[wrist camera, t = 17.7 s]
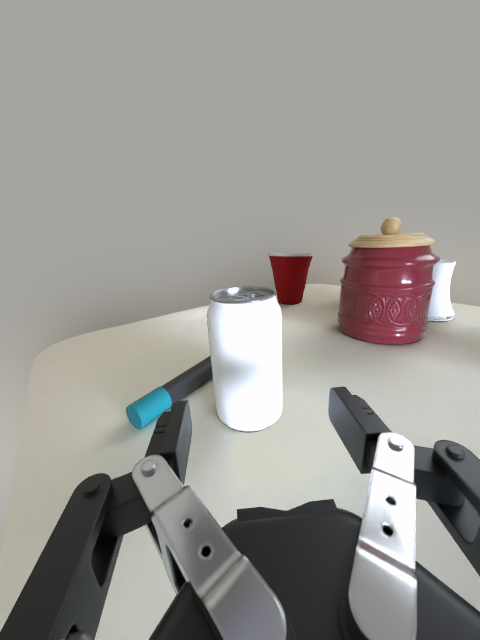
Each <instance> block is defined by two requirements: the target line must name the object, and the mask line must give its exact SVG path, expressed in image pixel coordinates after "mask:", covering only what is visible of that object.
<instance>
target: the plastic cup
mask: <svg viewBox="0 0 480 640" xmlns="http://www.w3.org/2000/svg"><path fill="white" fill-rule="evenodd" d="M268 255H269V257H270V261H271V266H272V270H273V276H274V282H275V288H276V292H277V297H278V301H279V302H280V303H283V304H297V303H300V302H301V301H302V298H303V292H304V289H305V284H306V278H307V274H308V269H309V266H310V262H311V259H312V256H314V254H308V253H270V254H268Z"/></svg>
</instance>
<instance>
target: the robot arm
mask: <svg viewBox="0 0 480 640" xmlns="http://www.w3.org/2000/svg"><path fill="white" fill-rule="evenodd" d="M329 417H330V421H331V423H332V424H333V426H334V428H335V430H336V431H337V433H338V435H339V437H340V438H341V440H342V442H343V443H344V445H345V447H346V449H347V450H348V452H349V454H350V456H351V457H352V459H353V461H354V462H355V464H356V466H357V468H358V469H359V471H360V473H361V474H365V473H370V474H371V477H370V482H369V487H368V492H367V497H366V503H365V508H364V513H363V518H361V517H359V516H357V515H355V514H353V513H351V512H349V511H346V510H343V509H339V508H337V507H336V505H335V503H334V500H333V499H330V500H321V501H312V502H308V503H305V504H303V505H301V506H298V507H296V508H293V509H291V510H288V511H283V510H277V509H271V508H264V507H256V508H247V509H237V519H235V520H233V521H231V522H229V523H228V524H226V525H225V526H224V527H222V528H221V527H220V526H219V524H218V523H217V522H216V520H215V519H214V518H213V516H212V515H211V514H210V512H209V511H208V510H207V508H206V507H205V506H204V504H203V503H202V501H201V500H200V499H199V497H198V496H197V495H196V493H195V492H194V491H193V489H192V488H191V487H190V486H188V485H187V486H186V487H184V480H185V474H186V468H187V461H188V455H189V449H190V442H191V436H192V422H191V415H190V409H189V402H188V400H185V401H174V403H173V406H172V410H171V411H168V412H164V413H163V414H162V415H161V416H160V417H159V419H158V421H157V424H156V428H155V429H154V432H153V435H152V438H151V441H150V444H149V446H148V449H147V452H146V455H145V458H143V459H142V460H140V461H139V462H138V463H137V464H136V465H135V467H134V468H133V471H132V472H130V473H128V474H126V475H123V476H121V477H118V478H115V479H112V480H111V478H110V477H109V475H107V474H103V473H100V474H95V475H92V476H90V477H88V478H87V479H85V480H84V481H82V482H81V483H80V484H79V485H78V486H77V487H76V489H75V490H74V492H73V494H72V496H71V498H70V500H69V502H68V504H67V505H66V507H65V509H64V511H63V513H62V515H61V517H60V519H59V521H58V523H57V525H56V527H55V528H54V530H53V532H52V534H51V536H50V538H49V540H48V542H47V544H46V546H45V548H44V550H43V551H42V553H41V555H40V557H39V559H38V561H37V563H36V565H35V567H34V569H33V571H32V573H31V575H30V576H29V578H28V580H27V582H26V584H25V586H24V588H23V590H22V592H21V594H20V596H19V598H18V599H17V601H16V603H15V605H14V607H13V609H12V611H11V613H10V615H9V617H8V619H7V621H6V622H5V624H4V626H3V628H2V630H1V632H0V640H94V639H95V636H96V632H97V628H98V625H99V621H100V618H101V614H102V610H103V607H104V603H105V600H106V596H107V593H108V589H109V585H110V582H111V578H112V575H113V571H114V567H115V564H116V560H117V557H118V553H119V549H120V546H121V542H122V539H123V535H124V534H126V533H128V532H131V531H133V530H135V529H137V528H139V527H142V526H144V525H146V527H147V530H148V532H149V534H150V536H151V538H152V540H153V542H154V544H155V546H156V548H157V551H158V553H159V555H160V557H161V559H162V561H163V564H164V566H165V569H166V572H167V575H168V577H169V580H170V582H171V584H172V587H173V589H174V591H175V593H176V597H175V598H174V600H173V602H172V603H171V605H170V606H169V608H168V610H167V611H166V613H165V614H164V616H163V618H162V619H161V621H160V622H159V624H158V625H157V627H156V629H155V630H154V632H153V633H152V635H151V637H150V638H149V640H480V612H479V611H478V610H477V609H475V608H474V607H473V606H472V605H470V604H469V603H468V602H467V601H465V600H464V599H463V598H462V597H460V596H459V595H458V594H457V593H455V592H454V591H453V590H452V589H450V588H449V587H448V586H447V585H445V584H444V583H443V582H442V581H440V580H439V579H438V578H437V577H435V576H434V575H433V574H432V573H430V572H429V571H428V570H427V569H425V568H424V567H423V566H422V565H420V564H419V563H418V562H417V561H415V551H416V499H421V500H426V501H427V502H428V503H429V505H430V506H431V508H432V509H433V510H434V512H435V513H436V515H437V516H438V517H439V519H440V520H441V522H442V523H443V525H444V526H445V527H446V529H447V530H448V532H449V533H450V535H451V536H452V537H453V539H454V540H455V542H456V543H457V544H458V546H459V547H460V549H461V550H462V552H463V553H464V554H465V556H466V557H467V559H468V560H469V562H470V563H471V564H472V566H473V567H474V569H475V570H476V571H477V573H478V574H479V576H480V460H479V459H478V458H477V457H476V456H475V455H474V454H473V453H472V452H471V451H470V450H468V449H467V448H465V447H464V446H462V445H460V444H458V443H455V442H452V441H448V440H440V441H437V442H436V443H435V445H434V449H432V448H426V447H419V446H414V445H413V444H412V443H411V442H410V441H409V440H408V439H407V438H405V437H403V436H402V435H399V434H397V433H392V432H391V431H390V430H389V428H388V427H387V426H386V425H385V424H384V423H383V421H382V420H381V419H380V418H379V417H378V416H377V414H375V412H374V411H373V410H372V409H371V408H370V406H369V405H368V404H367V403H366V402H365V400H363V399H361V398H360V397H358V396H357V395H351V393H350V392H349V391H348V390H347V388H346V387H336V388H331V389H330V396H329ZM471 504H472V505H471Z"/></svg>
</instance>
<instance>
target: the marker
mask: <svg viewBox="0 0 480 640" xmlns="http://www.w3.org/2000/svg"><path fill="white" fill-rule="evenodd" d="M212 376H213V373H212V363H211V356H209V357H208V358H206V359H204V360H203V361H201V362H200V363H198V364H196V365H195V366H193V367H192V368H190V369H188V370H187V371H185V372H184V373H182V374H180V375H179V376H177V377H176V378H174V379H172V380H171V381H169V382H168V383H166V384H164V385H163V386H161V387H158V388H156V389H155V390H153V391H151V392H150V393H148V394H147V395H145V396H143V397H142V398H140V399H139V400H137V401H135V402H134V403H132V404H130V405H129V406H127V408H126V413H127V416H128V418H129V420H130V422H131V423H132V424H133V425H134V426H135V427H136V428H138V429H141V428H142V427H144V426H145V425H146V424H148V423H149V422H150V421H152V420H153V419H155V418H156V417H157V416H159V415H160V414H161V413H163V412H164V411H166V410H167V409H168V408H170V407H171V406H172V405H173V403H174V401H179V400H181V399H182V398H183V397H185V396H186V395H188V394H189V393H190V392H192V391H193V390H194V389H196V388H197V387H198V386H200V385H201V384H203V383H204V382H205V381H207V380H208V379H209V378H211V377H212Z"/></svg>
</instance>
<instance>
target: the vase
mask: <svg viewBox="0 0 480 640" xmlns="http://www.w3.org/2000/svg"><path fill="white" fill-rule="evenodd" d="M455 263H456V261H450V260H440V261H439V262H438V263H437V264H435V265H434V268H433V279H434V280H435V285H434V286H433V291H432V296H431V301H430V306H429V312H428V317H427V320H428V321H449V320H452V319H453V318H454V316H453V315H454V314H455V312H454V311H453V310H452V307H451V302H450V295H449V289H450V280H451V275H452V272H453V268H454V266H455Z"/></svg>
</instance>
